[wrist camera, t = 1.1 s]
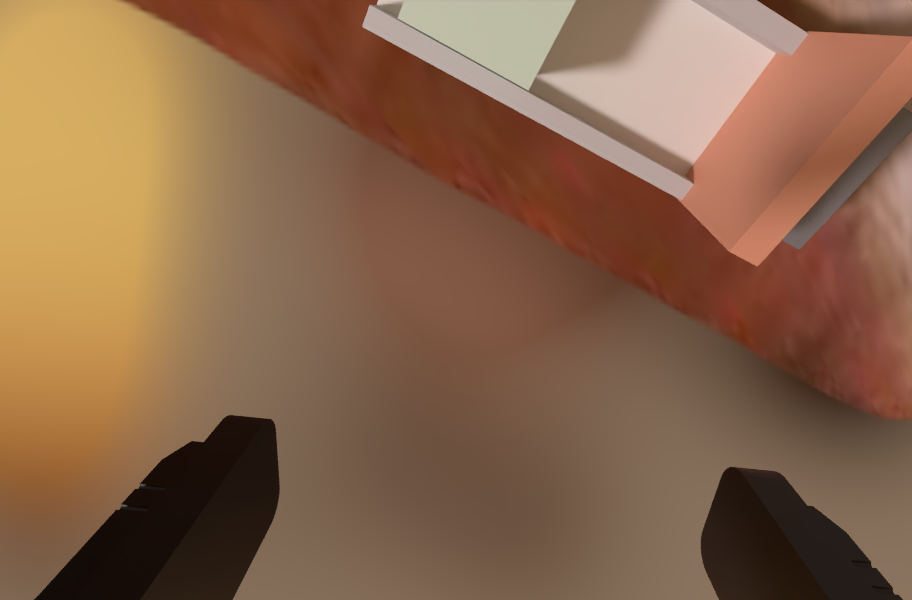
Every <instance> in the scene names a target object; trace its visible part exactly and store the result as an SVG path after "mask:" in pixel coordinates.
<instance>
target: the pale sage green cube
mask: <svg viewBox="0 0 912 600" xmlns="http://www.w3.org/2000/svg"><path fill="white" fill-rule="evenodd" d="M575 1H576V0H404V2H403V5H402V7H401V10H400V13H399V16H398V19H400V20H402V21H404V22H405V23H407V24H409V25H411V26H413V27H414V28H416V29H418V30H420V31H422V32H423V33H425V34H427V35H429V36H431V37H432V38H434V39H436V40H438V41H440V42H441V43H443V44H445V45H447V46H449V47H451V48H452V49H454V50H456V51H458V52H460V53H461V54H463V55H465V56H467V57H469V58H470V59H472V60H474V61H476V62H478V63H479V64H481V65H483V66H485V67H487V68H488V69H490V70H492V71H494V72H496V73H498V74H499V75H501V76H503V77H505V78H507V79H508V80H510V81H512V82H514V83H516V84H517V85H519V86H521V87H523V88H525V89H526V90H529V89H530V87H531V85H532V83H533V81H534V79H535V77H536V75H537V73H538V71H539V70H540V68H541V66H542V64H543V62H544V60H545V58H546V56H547V54H548V52H549V51H550V49H551V47H552V45H553V43H554V41H555V39H556V37H557V35H558V34H559V32H560V30H561V28H562V26H563V24H564V22H565V20H566V18H567V16H568V15H569V13H570V11H571V9H572V7H573V5H574V3H575Z"/></svg>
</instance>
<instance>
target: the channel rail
mask: <svg viewBox="0 0 912 600" xmlns="http://www.w3.org/2000/svg"><path fill="white" fill-rule="evenodd" d="M403 2H404V0H378V2H377V5H370V6H369V9H368V11H367V14H366V17H365V20H364V23H363V26H362V27H364V28H365V29H367V30H369V31H371V32H373V33H375V34H376V35H378V36H380V37H382V38H384V39H386V40H387V41H389V42H391V43H393V44H395V45H397V46H399V47H400V48H402V49H404V50H406V51H408V52H410V53H411V54H413V55H415V56H417V57H419V58H421V59H422V60H424V61H426V62H428V63H430V64H432V65H434V66H435V67H437V68H439V69H441V70H443V71H445V72H446V73H448V74H450V75H452V76H454V77H456V78H457V79H459V80H461V81H463V82H465V83H467V84H468V85H470V86H472V87H474V88H476V89H478V90H480V91H481V92H483V93H485V94H487V95H489V96H491V97H492V98H494V99H496V100H498V101H500V102H502V103H503V104H505V105H507V106H509V107H511V108H513V109H514V110H516V111H518V112H520V113H522V114H524V115H526V116H527V117H529V118H531V119H533V120H535V121H537V122H538V123H540V124H542V125H544V126H546V127H548V128H549V129H551V130H553V131H555V132H557V133H559V134H561V135H562V136H564V137H566V138H568V139H570V140H572V141H573V142H575V143H577V144H579V145H581V146H583V147H584V148H586V149H588V150H590V151H592V152H594V153H595V154H597V155H599V156H601V157H603V158H605V159H607V160H608V161H610V162H612V163H614V164H616V165H618V166H619V167H621V168H623V169H625V170H627V171H629V172H630V173H632V174H634V175H636V176H638V177H640V178H641V179H643V180H645V181H647V182H649V183H651V184H653V185H654V186H656V187H658V188H660V189H662V190H664V191H665V192H667V193H669V194H671V195H673V196H675V197H676V198H677V199H678V200H679V201H680V202H681V203H682V204H683V205H684V206H685V207H686V208H687V209H688V210H689V211H690V212H691V213H692V214H693V215H694V216H695V217H696V218H697V219H698V220H699V221H700V222H701V223H702V224H703V225H704V226H705V227H706V228H707V229H708V230H709V231H710V232H711V233H712V235H713V236H714V237H715V238H716V239H717V240H718V241H719V242H720V243H721V244H722V245H723V246H724V247H725V248H726V249H727V250H728V251H729V252H731V253H733V254H735V255H737V256H739V257H740V258H742V259H744V260H746V261H748V262H750V263H752V264H754V265H755V266H757V267H758V265H759V264H760V263H761V262H762V261H763V260H764V259H765V258H766V257H767V256H768V255H769V253H770V252H771V251H772V250H773V249H774V248H775V247H776V246H777V245H778V244H779V242H780V241H781V240H782V241H784V242H786V243H788V244H790V245H791V246H793V247H795V248H797V249H799V250H800V248H801V247H802V246H803V245H804V244H805V243H806V242H807V241H808V240H809V239H810V238H811V237H812V236H813V235H814V234H815V233H816V231H817V230H818V229H819V228H820V227H821V226H822V225H823V224H824V223H825V222H826V221H827V220H828V219H829V218H830V217H831V216H832V215H833V213H834V212H835V211H836V210H837V209H838V208H839V207H840V206H841V205H842V204H843V203H844V202H845V201H846V200H847V199H848V198H849V196H850V195H851V194H852V193H853V192H854V191H855V190H856V189H857V188H858V187H859V186H860V185H861V184H862V183H863V182H864V181H865V179H866V178H867V177H868V176H869V175H870V174H871V173H872V172H873V171H874V170H875V169H876V168H877V167H878V166H879V165H880V164H881V162H882V161H883V160H884V159H885V158H886V157H887V156H888V155H889V154H890V153H891V152H892V151H893V150H894V149H895V148H896V147H897V145H898V144H899V143H900V142H901V141H902V140H903V139H904V138H905V137H906V136H907V135H908V134H909V133H910V132H911V131H912V113H911V112H909V111H908V110H906V109H905V108H903V106H904V105H905V104H906V103H907V102H908V101H909V100H910V99H911V98H912V37H910V36H890V35H871V34H852V33H833V32H813V31H804V30H802V29H801V28H799V27H797V26H796V25H794V24H793V23H791V22H790V21H788V20H787V19H785V18H783V17H782V16H780V15H779V14H777V13H776V12H774V11H773V10H771V9H769V8H768V7H766V6H765V5H763V4H762V3H760V2H759V1H757V0H576V1H575V3H574V5H573V7H572V9H571V11H570V13H569V15H568V16H567V18H566V20H565V22H564V24H563V26H562V28H561V30H560V32H559V34H558V35H557V37H556V39H555V41H554V43H553V45H552V47H551V49H550V51H549V52H548V54H547V56H546V58H545V60H544V62H543V64H542V66H541V68H540V70H539V71H538V73H537V75H536V77H535V79H534V81H533V83H532V85H531V87H530V89H529V90H526V89H525V88H523V87H521V86H519V85H517V84H516V83H514V82H512V81H510V80H508V79H507V78H505V77H503V76H501V75H499V74H498V73H496V72H494V71H492V70H490V69H488V68H487V67H485V66H483V65H481V64H479V63H478V62H476V61H474V60H472V59H470V58H469V57H467V56H465V55H463V54H461V53H460V52H458V51H456V50H454V49H452V48H451V47H449V46H447V45H445V44H443V43H441V42H440V41H438V40H436V39H434V38H432V37H431V36H429V35H427V34H425V33H423V32H422V31H420V30H418V29H416V28H414V27H413V26H411V25H409V24H407V23H405V22H404V21H402V20H400V19H398V16H399V13H400V10H401V7H402V5H403Z"/></svg>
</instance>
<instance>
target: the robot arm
mask: <svg viewBox="0 0 912 600" xmlns="http://www.w3.org/2000/svg"><path fill="white" fill-rule="evenodd" d="M279 487H280V485H279V470H278V456H277V441H276V428H275V424H274V422H273V421H272V420H271V419H263V418H254V417H245V416H234V415H229V416H226V417H225V418H224V419H223V420H222V421H221V422H220V424H219V425H218V426H217V427H216V428H215V429H214V431H213V432H212V433H211V434H210V435H209V437H208V438H207V439H206V440H205V441H204V442H194V441H192V442H190V443H188V444H186V445H185V446H184V447H182V448H180V449H178V450H177V451H175V452H174V453H172V454H170V455H169V456H167V457H166V458H164V459H162V460H161V461H160V462H159V463H158V465H157V466H156V467H155V468H154V469H153V470H152V471H151V472H150V473H149V474H148V476H147V477H146V478H145V479H144V480H143V481H142V482H141V483H140V487H139V489H135V490H134V491H133V492H132V493H131V494H130V495H129V496H128V498H127V499H126V500H125V501H124V502H123V503H122V504H121V508H120V510H116V511H115V512H114V513H113V514H112V515H111V516H110V517H109V518H108V520H107V521H106V522H105V523H104V524H103V525H102V526H101V527H100V528H99V529H98V530H97V532H96V533H95V534H94V535H93V536H92V537H91V538H90V539H89V540H88V542H87V543H86V544H85V545H84V546H83V547H82V548H81V549H80V550H79V552H78V553H77V554H76V555H75V556H74V557H73V558H72V559H71V560H70V561H69V562H68V563H67V565H66V566H65V567H64V568H63V569H62V570H61V571H60V572H59V573H58V574H57V576H56V577H55V578H54V579H53V580H52V581H51V582H50V583H49V585H47V586H46V588H45V589H44V590H43V591H42V592H41V593H40V594H39V595H38V596H37V597H36V598H35V599H34V600H233V598H234V596H235V594H236V592H237V590H238V588H239V586H240V584H241V582H242V580H243V578H244V576H245V574H246V572H247V570H248V568H249V566H250V564H251V562H252V560H253V558H254V557H255V555H256V553H257V551H258V549H259V547H260V545H261V543H262V541H263V539H264V537H265V535H266V533H267V531H268V529H269V527H270V525H271V523H272V521H273V518H274V515H275V512H276V509H277V505H278V499H279V490H280V488H279ZM701 554H702V559H703V564H704V567H705V570H706V572H707V574H708V577H709V579H710V581H711V583H712V585H713V588H714V590H715V591H716V594H717V596H718V598H719V600H903V599H902V598H901V597H900V596H899V595H895V594H894V593H893V588H892V586H891V585H890V584H889V583H888V582H887V580H886V579H885V578H884V577H883V576H882V574H880V572H879V571H878V570H877V568H872V566H871V561H870V560H869V559H868V558H867V557H866V555H865V554H864V553H863V552H862V551H861V549H859V547H858V546H857V545H856V544H855V542H854V541H853V540H852V539H851V538H850V536H849V535H848V534H847V533H846V532H845V531H844V530H842V529H841V528H840V527H839V526H837V525H836V524H835V523H833V522H832V521H831V520H830V519H828V518H827V517H826V516H825V515H823V514H822V513H821V512H820V511H818V510H817V509H815V508H814V507H813V506H807V505H806V504H805V502H804V501H803V500H802V499H801V497H800V496H799V495H798V493H797V492H796V491H795V490H794V488H793V487H792V486H791V485H790V484H789V482H788V481H787V480H786V478H785V477H784V476H783V475H781V474H780V473H778V472H775V471H766V470H757V469H747V468H736V467H729V468H727V469H726V470H725V471H724V473H723V474H722V477H721V479H720V482H719V485H718V488H717V491H716V494H715V497H714V499H713V502H712V505H711V508H710V511H709V514H708V517H707V520H706V523H705V526H704V528H703V532H702V536H701Z"/></svg>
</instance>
